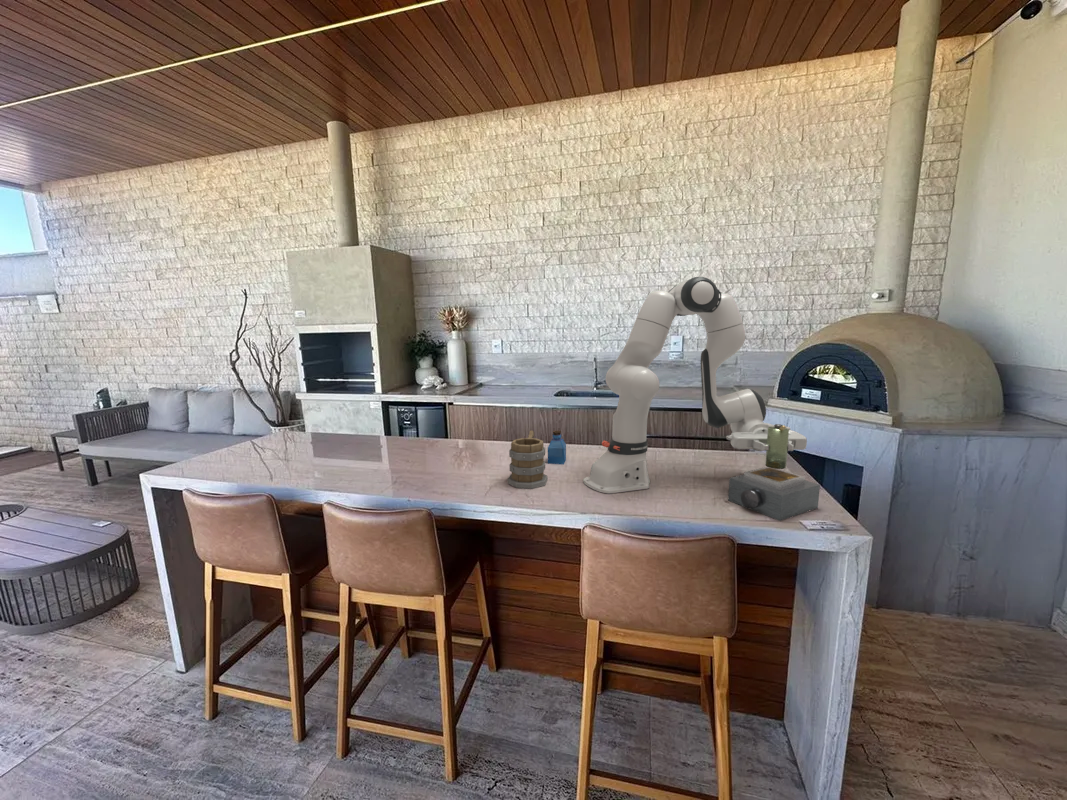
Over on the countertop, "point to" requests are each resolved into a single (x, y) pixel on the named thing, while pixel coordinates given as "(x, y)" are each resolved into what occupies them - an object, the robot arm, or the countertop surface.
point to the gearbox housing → (774, 492)
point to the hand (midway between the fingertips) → (778, 448)
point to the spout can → (777, 446)
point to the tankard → (527, 463)
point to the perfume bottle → (557, 449)
